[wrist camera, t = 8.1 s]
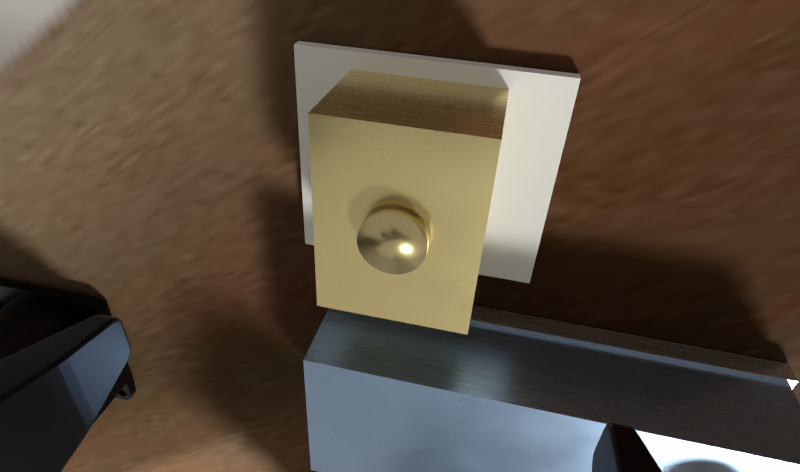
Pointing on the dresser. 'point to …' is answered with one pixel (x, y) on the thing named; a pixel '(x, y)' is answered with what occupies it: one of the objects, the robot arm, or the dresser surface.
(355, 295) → the yellow knobbed box
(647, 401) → the light blue box
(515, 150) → the felt mat
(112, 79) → the dresser surface
